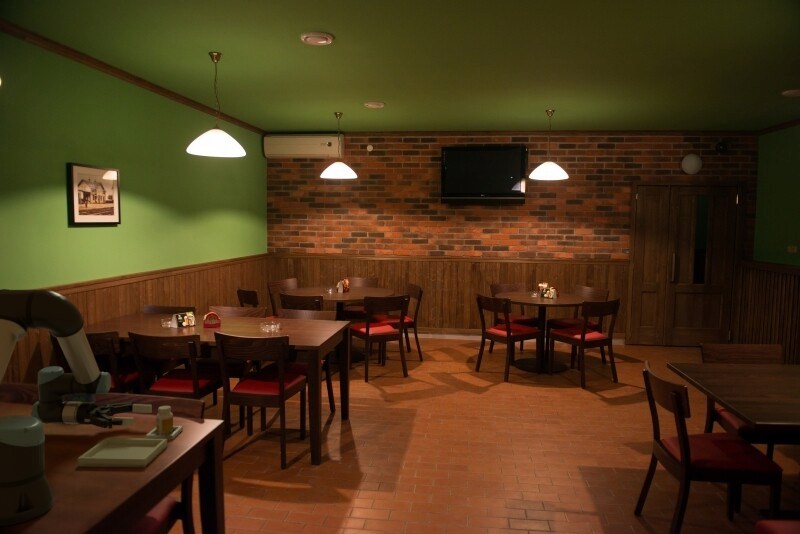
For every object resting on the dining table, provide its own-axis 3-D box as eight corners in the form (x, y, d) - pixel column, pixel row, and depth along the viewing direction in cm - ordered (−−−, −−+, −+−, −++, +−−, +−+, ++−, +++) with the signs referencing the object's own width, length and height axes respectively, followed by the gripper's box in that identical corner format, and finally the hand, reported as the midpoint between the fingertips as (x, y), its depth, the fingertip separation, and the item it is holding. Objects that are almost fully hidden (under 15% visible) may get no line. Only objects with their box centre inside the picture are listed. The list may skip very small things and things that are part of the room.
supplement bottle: (176, 432, 193) (176, 405, 192) (167, 438, 187) (167, 410, 187) (162, 431, 193) (161, 404, 193) (153, 437, 188) (152, 409, 187)
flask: (96, 414, 209) (96, 384, 209) (91, 417, 206) (91, 387, 205) (71, 413, 210) (70, 383, 209) (66, 416, 207) (65, 386, 206)
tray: (145, 467, 165) (144, 459, 164) (78, 466, 164) (77, 458, 164) (167, 446, 180) (167, 439, 180) (106, 445, 180) (106, 437, 180)
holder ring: (172, 439, 186) (172, 435, 186) (145, 439, 186) (145, 435, 186) (182, 430, 195) (182, 426, 195) (157, 429, 195) (157, 425, 195)
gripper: (100, 411, 203) (157, 413, 203) (59, 437, 178) (125, 439, 178) (100, 391, 202) (158, 393, 203) (59, 414, 177) (125, 416, 178)
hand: (142, 415), depth 190 cm, fingers open, 13 cm apart
